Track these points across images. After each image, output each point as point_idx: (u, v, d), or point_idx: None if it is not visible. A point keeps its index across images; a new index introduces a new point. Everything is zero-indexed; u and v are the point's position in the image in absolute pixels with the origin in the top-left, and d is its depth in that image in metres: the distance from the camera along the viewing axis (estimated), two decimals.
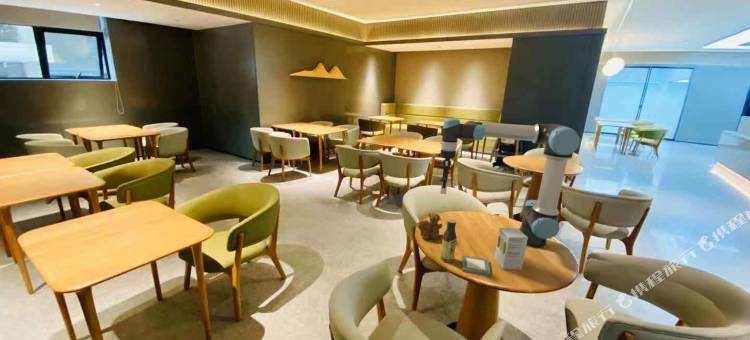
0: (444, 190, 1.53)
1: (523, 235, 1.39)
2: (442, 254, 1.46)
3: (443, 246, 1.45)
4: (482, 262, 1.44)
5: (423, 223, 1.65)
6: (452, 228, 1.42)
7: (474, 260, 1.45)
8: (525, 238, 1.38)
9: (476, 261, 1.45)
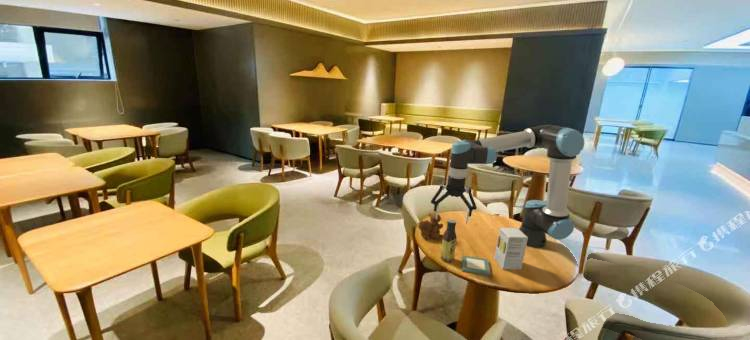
0: None
1: (523, 235, 1.39)
2: (442, 254, 1.46)
3: (443, 246, 1.45)
4: (482, 262, 1.44)
5: (424, 223, 1.65)
6: (452, 228, 1.42)
7: (474, 260, 1.45)
8: (525, 238, 1.38)
9: (476, 261, 1.45)
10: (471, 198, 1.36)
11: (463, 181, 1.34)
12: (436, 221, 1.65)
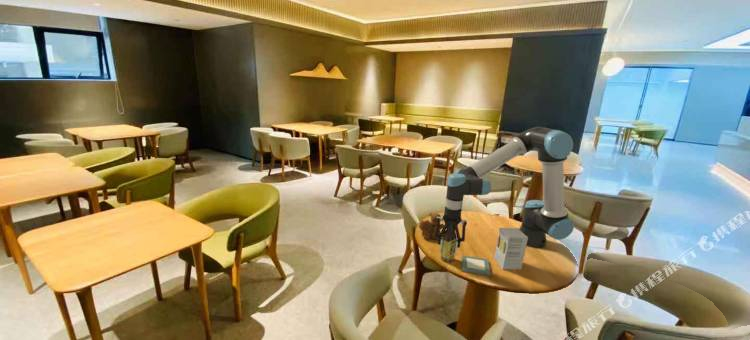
0: (440, 247, 1.47)
1: (523, 235, 1.39)
2: (442, 254, 1.46)
3: (443, 246, 1.45)
4: (482, 262, 1.44)
5: (424, 223, 1.65)
6: (452, 228, 1.42)
7: (474, 260, 1.45)
8: (525, 238, 1.38)
9: (476, 261, 1.45)
10: (463, 230, 1.41)
11: (459, 212, 1.38)
12: None
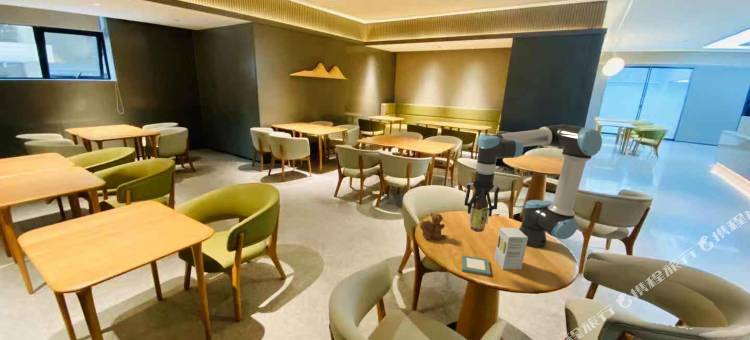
0: None
1: (523, 235, 1.39)
2: (472, 224, 1.37)
3: (473, 215, 1.36)
4: (482, 262, 1.44)
5: (425, 223, 1.65)
6: (483, 195, 1.33)
7: (474, 260, 1.45)
8: (525, 238, 1.38)
9: (476, 261, 1.45)
10: (496, 197, 1.32)
11: (492, 177, 1.29)
12: (438, 221, 1.65)
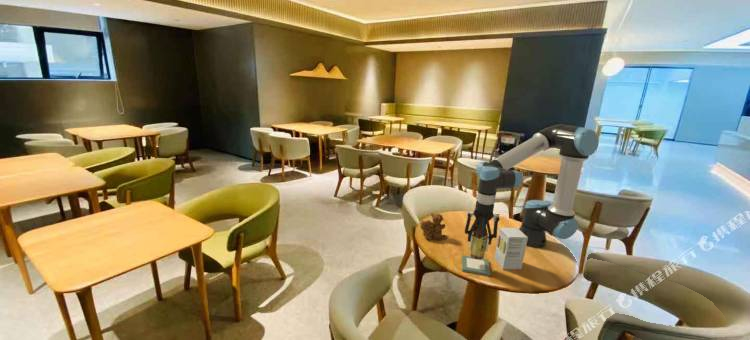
0: (469, 244, 1.41)
1: (523, 235, 1.39)
2: (472, 251, 1.39)
3: (473, 243, 1.38)
4: (482, 262, 1.44)
5: (426, 223, 1.65)
6: (483, 224, 1.36)
7: (474, 260, 1.45)
8: (525, 238, 1.38)
9: (476, 261, 1.45)
10: (496, 226, 1.35)
11: (492, 207, 1.32)
12: (438, 221, 1.65)
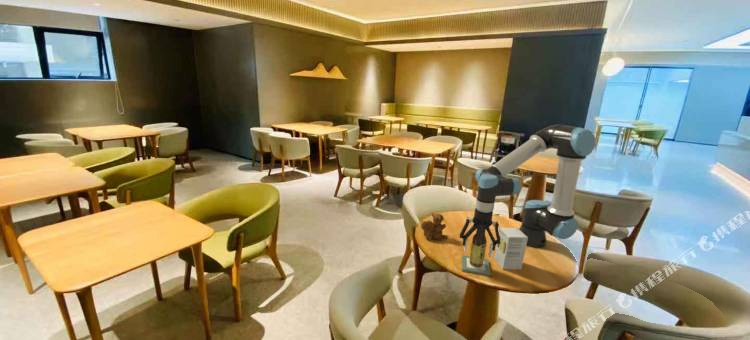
0: (464, 248, 1.42)
1: (523, 235, 1.39)
2: (471, 259, 1.40)
3: (472, 250, 1.39)
4: None
5: (426, 223, 1.65)
6: (482, 232, 1.37)
7: None
8: (525, 238, 1.38)
9: None
10: (497, 232, 1.35)
11: (491, 215, 1.33)
12: (439, 221, 1.65)
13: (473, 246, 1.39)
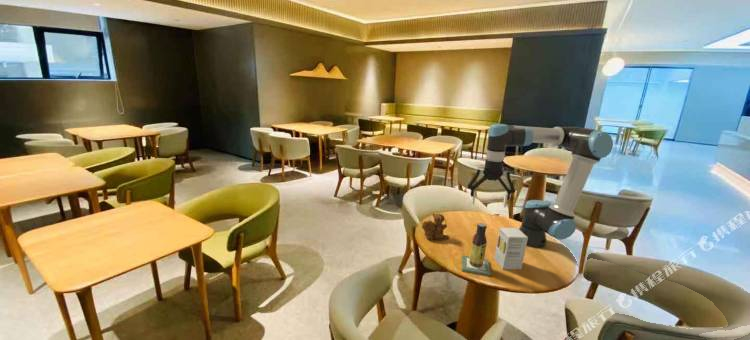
0: (472, 199, 1.41)
1: (523, 235, 1.39)
2: (471, 259, 1.40)
3: (473, 250, 1.39)
4: None
5: (427, 223, 1.64)
6: (482, 232, 1.37)
7: None
8: (525, 238, 1.38)
9: None
10: (509, 181, 1.35)
11: (502, 164, 1.32)
12: (440, 221, 1.65)
13: (473, 246, 1.39)
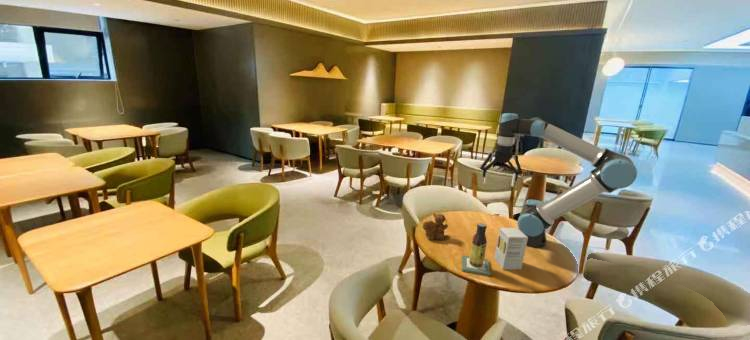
0: (484, 179, 1.61)
1: (523, 235, 1.39)
2: (471, 259, 1.40)
3: (473, 250, 1.39)
4: None
5: (428, 223, 1.64)
6: (482, 232, 1.37)
7: None
8: (525, 238, 1.38)
9: None
10: (518, 163, 1.54)
11: (511, 148, 1.52)
12: (441, 221, 1.65)
13: (473, 246, 1.39)
